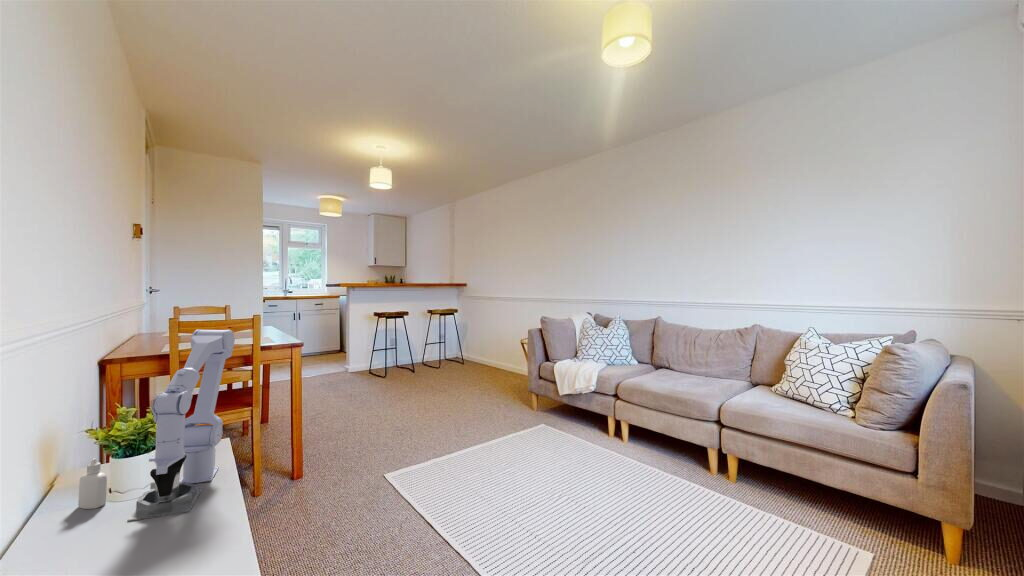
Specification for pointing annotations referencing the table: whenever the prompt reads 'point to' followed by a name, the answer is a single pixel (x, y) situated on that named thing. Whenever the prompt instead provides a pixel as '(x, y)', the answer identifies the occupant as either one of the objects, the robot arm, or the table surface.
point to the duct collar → (165, 503)
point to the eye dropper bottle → (92, 487)
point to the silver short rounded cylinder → (173, 494)
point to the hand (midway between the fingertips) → (168, 490)
